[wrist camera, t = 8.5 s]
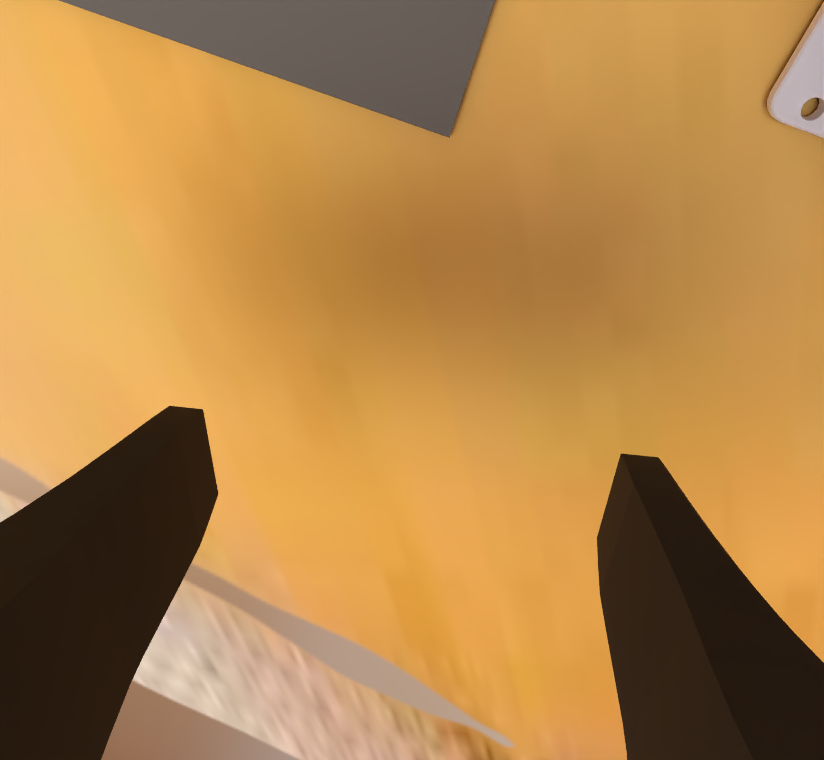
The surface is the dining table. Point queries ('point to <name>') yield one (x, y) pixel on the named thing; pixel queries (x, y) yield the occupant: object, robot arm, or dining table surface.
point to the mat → (334, 45)
